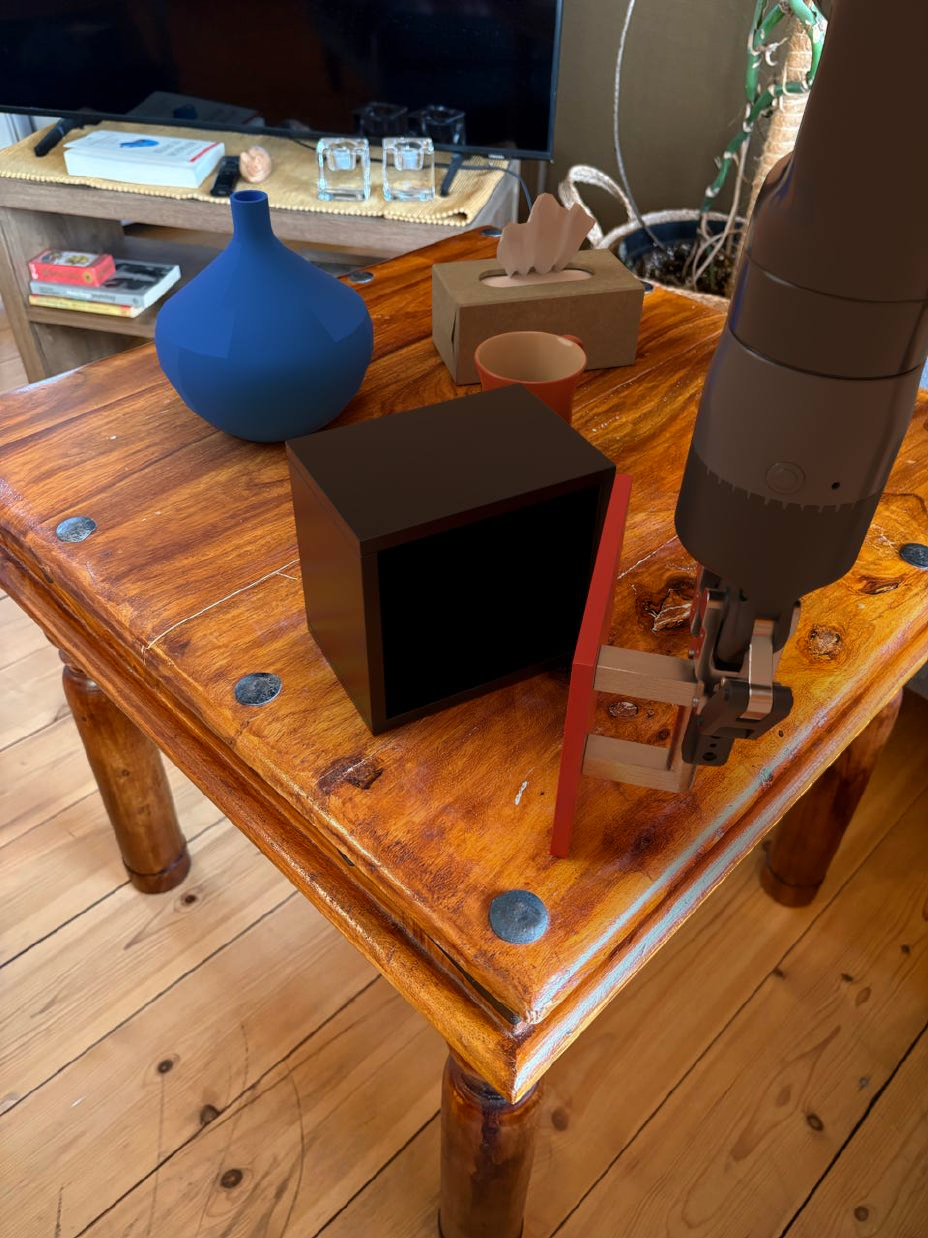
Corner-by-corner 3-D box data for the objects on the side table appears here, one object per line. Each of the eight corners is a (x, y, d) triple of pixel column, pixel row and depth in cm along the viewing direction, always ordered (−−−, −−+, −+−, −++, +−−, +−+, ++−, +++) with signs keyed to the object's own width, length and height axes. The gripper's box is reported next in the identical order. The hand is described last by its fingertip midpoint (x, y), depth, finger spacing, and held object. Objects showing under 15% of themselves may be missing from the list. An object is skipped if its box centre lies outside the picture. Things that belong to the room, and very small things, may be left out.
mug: (539, 510, 79) (549, 394, 72) (451, 473, 83) (452, 360, 76) (612, 446, 86) (627, 335, 80) (528, 415, 90) (535, 307, 83)
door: (693, 677, 65) (737, 490, 55) (673, 881, 53) (726, 689, 43) (590, 659, 66) (615, 472, 56) (549, 855, 54) (572, 662, 45)
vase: (402, 448, 86) (396, 224, 73) (188, 486, 81) (141, 253, 68) (347, 354, 98) (334, 150, 86) (159, 382, 94) (115, 170, 81)
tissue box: (453, 386, 94) (454, 217, 83) (429, 341, 101) (427, 179, 90) (638, 365, 98) (661, 200, 87) (602, 322, 105) (620, 165, 94)
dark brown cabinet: (591, 655, 67) (617, 465, 57) (372, 737, 61) (359, 541, 51) (509, 564, 74) (520, 381, 64) (307, 629, 68) (284, 440, 58)
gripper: (934, 562, 33) (795, 866, 44) (856, 369, 43) (760, 656, 55) (707, 539, 33) (627, 846, 45) (683, 353, 44) (623, 642, 55)
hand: (700, 741), depth 50 cm, fingers closed on door, 2 cm apart
